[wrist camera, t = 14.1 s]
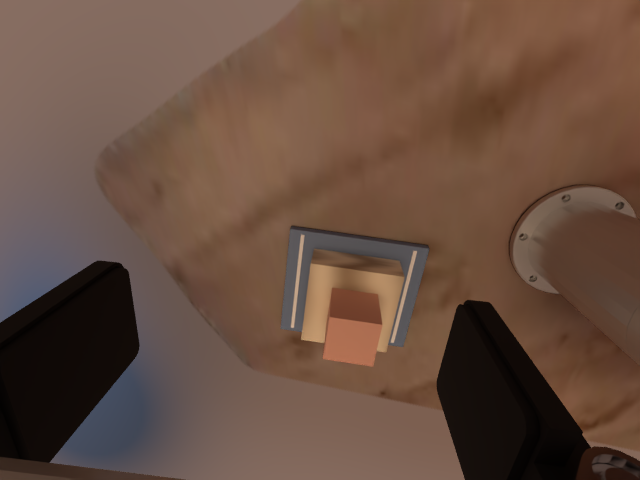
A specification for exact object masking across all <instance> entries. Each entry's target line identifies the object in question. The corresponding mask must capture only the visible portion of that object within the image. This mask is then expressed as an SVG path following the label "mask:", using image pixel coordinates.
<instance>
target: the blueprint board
mask: <svg viewBox="0 0 640 480" xmlns="http://www.w3.org/2000/svg"><path fill="white" fill-rule="evenodd" d="M314 249H321V250H328V251H335V252H342V253H349V254H356V255H363V256H370V257H377V258H384V259H391V260H398V261H400V264H401V267H402V270H403V273H404V276H405V278H404V282H403V286H402V290H401V294H400V298H399V302H398V306H397V310H396V314H395V318H394V322H393V326H392V330H391V335H390V339H389V343H388V345H392V346H399V347H403V345H404V341H405V338H406V334H407V330H408V327H409V323H410V319H411V315H412V312H413V308H414V304H415V301H416V297H417V293H418V289H419V286H420V282H421V278H422V275H423V271H424V267H425V263H426V260H427V256H428V252H429V247H428V245H421V244H414V243H407V242H400V241H393V240H386V239H379V238H372V237H365V236H358V235H351V234H344V233H337V232H330V231H323V230H316V229H309V228H302V227H295V226H291V228H290V237H289V247H288V258H287V268H286V279H285V289H284V299H283V310H282V320H281V329H285V330H292V331H299V332H302V329H303V321H304V313H305V305H306V297H307V289H308V281H309V273H310V265H311V260H312V256H313V251H314Z"/></svg>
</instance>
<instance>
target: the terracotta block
mask: <svg viewBox="0 0 640 480" xmlns="http://www.w3.org/2000/svg"><path fill="white" fill-rule="evenodd" d="M382 325H383V324H382V318H381V311H380V305H379V299H378V294H373V293H366V292H359V291H352V290H345V289H339V288H332V291H331V297H330V304H329V310H328V316H327V323H326V332H325V342H324V352H323V359H327V360H333V361H340V362H347V363H353V364H360V365H366V366H373V364H374V360H375V355H376V351H377V347H378V342H379V338H380V334H381V330H382Z"/></svg>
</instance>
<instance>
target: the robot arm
mask: <svg viewBox="0 0 640 480" xmlns="http://www.w3.org/2000/svg"><path fill="white" fill-rule="evenodd" d="M510 258H511V262H512V265H513V267H514V269H515V271H516V272H517V273H518V274H519V276H520V277H521V278H522V279H523V280H524V281H525V282H526V283H527V284H529V285H531V286H532V287H534V288H536V289H538V290H541V291H544V292H547V293H554V294H561V295H562V296H563V297H564V298H565V299H566V300H568V301H569V302H570V303H571V304H572V305H573V306H574V307H575V308H576V309H577V310H579V311H580V312H581V313H582V314H583V315H584V316H585V317H586V318H587V319H588V320H590V321H591V322H592V323H593V324H594V325H595V326H596V327H597V328H598V329H599V330H600V331H602V332H603V333H604V334H605V335H606V336H607V337H608V338H609V339H610V340H611V341H613V342H614V343H615V344H616V345H617V346H618V347H619V348H620V349H621V350H622V351H624V352H625V353H626V354H627V355H628V356H629V357H630V358H632V359H633V360H634V361H635V362H636V363H637V364H638V365H639V366H640V220H639V219H637V217H636V214H635V212H634V209H633V208H632V207H631V205H630V204H629V202H628V201H627V200H625V199H624V198H623V197H622V196H621V195H619V194H617V193H615V192H613V191H611V190H608V189H605V188H602V187H598V186H590V185H579V186H571V187H567V188H562V189H560V190H557V191H555V192H552V193H550V194H548V195H547V196H545V197H543V198H541V199H540V200H538V201H537V202H536V203H535V204H533V205H532V206H531V207H530V208H529V209H528V210H527V211H526V212H525V213H524V214H523V215H522V217H521V218H520V220H519V221H518V223H517V224H516V226H515V228H514V231H513V233H512V236H511V241H510ZM138 351H139V339H138V332H137V325H136V318H135V312H134V305H133V298H132V291H131V285H130V278H129V273H128V271H127V269H125V268H124V267H123V266H122V264H120V263H117V262H107V261H96V262H94V263H92V264H91V265H89V266H88V267H86V268H85V269H83V270H82V271H80V272H78V273H77V274H75V275H74V276H72V277H71V278H69V279H68V280H66V281H64V282H63V283H61V284H60V285H58V286H57V287H55V288H54V289H52V290H51V291H49V292H47V293H46V294H44V295H43V296H41V297H40V298H38V299H36V300H35V301H33V302H32V303H30V304H29V305H27V306H25V307H24V308H22V309H21V310H19V311H18V312H16V313H15V314H13V315H11V316H10V317H8V318H7V319H5V320H4V321H2V322H1V323H0V480H184V479H175V478H168V477H160V476H152V475H144V474H136V473H128V472H120V471H112V470H103V469H95V468H86V467H79V466H70V465H62V464H54V463H49V462H50V461H51V460H52V459H53V458H54V456H55V455H56V454H57V453H58V451H59V450H60V449H61V448H62V447H63V445H64V444H65V443H66V442H67V440H68V439H69V438H70V437H71V436H72V434H73V433H74V432H75V431H76V429H77V428H78V427H79V426H80V424H81V423H82V422H83V421H84V420H85V419H86V417H87V416H88V415H89V414H90V412H91V411H92V410H93V409H94V407H95V406H96V405H97V404H98V403H99V401H100V400H101V399H102V398H103V397H104V395H105V394H106V393H107V392H108V390H109V389H110V388H111V386H112V385H113V384H114V383H115V382H116V381H117V379H118V378H119V377H120V376H121V375H122V373H123V372H124V371H125V370H126V368H127V367H128V366H129V365H130V364H131V362H132V361H133V360H134V359H135V357H136V356H137V354H138ZM437 392H438V395H439V399H440V402H441V405H442V408H443V411H444V414H445V417H446V420H447V424H448V427H449V430H450V433H451V437H452V440H453V443H454V446H455V449H456V453H457V456H458V459H459V462H460V465H461V468H462V471H463V475H464V478H465V480H640V461H639V460H637V459H636V458H634V457H631V456H629V455H627V454H625V453H623V452H621V451H618V450H615V449H611V448H608V447H595V446H594V447H592V448H591V447H590V445H589V444H588V443H587V441H586V440H585V438H584V437H583V436H582V433H583V432H582V430H581V429H580V427H579V426H578V425H577V423H576V422H575V420H574V419H573V418H572V416H571V415H570V413H569V412H568V411H567V409H566V408H565V406H564V405H563V404H562V402H561V401H560V399H559V398H558V397H557V395H556V394H555V392H554V391H553V390H552V388H551V387H550V386H549V384H548V383H547V381H546V380H545V379H544V377H543V376H542V374H541V373H540V372H539V370H538V369H537V367H536V366H535V365H534V363H533V362H532V360H531V359H530V358H529V356H528V355H527V353H526V352H525V351H524V349H523V348H522V346H521V345H520V344H519V342H518V341H517V339H516V338H515V337H514V335H513V334H512V332H511V331H510V330H509V328H508V327H507V325H506V324H505V323H504V321H503V320H502V318H501V317H500V316H499V314H498V313H497V311H496V310H495V309H494V307H493V306H492V304H490V303H489V302H483V301H473V300H467V301H465V303H464V305H462V304H460V305H458V307H457V309H456V313H455V316H454V320H453V323H452V327H451V331H450V334H449V338H448V342H447V345H446V349H445V352H444V356H443V360H442V363H441V367H440V370H439V374H438V378H437Z"/></svg>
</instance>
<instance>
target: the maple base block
mask: <svg viewBox="0 0 640 480" xmlns="http://www.w3.org/2000/svg"><path fill="white" fill-rule="evenodd" d="M404 278H405V276H404V273H403V270H402V267H401V264H400V261H398V260H391V259H384V258H377V257H370V256H363V255H356V254H349V253H342V252H335V251H328V250H321V249H314V251H313V256H312V260H311V265H310V273H309V281H308V289H307V297H306V305H305V313H304V321H303V329H302V337H301V340H307V341H314V342H321V343H324V342H325V332H326V323H327V316H328V310H329V304H330V297H331V291H332V288H339V289H345V290H352V291H359V292H366V293H373V294H378V299H379V305H380V311H381V318H382V324H383V325H382V330H381V334H380V338H379V342H378V347H377V351H380V352H386V351H387V347H388V343H389V339H390V335H391V330H392V326H393V322H394V318H395V314H396V310H397V306H398V302H399V298H400V294H401V290H402V286H403V282H404Z"/></svg>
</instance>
